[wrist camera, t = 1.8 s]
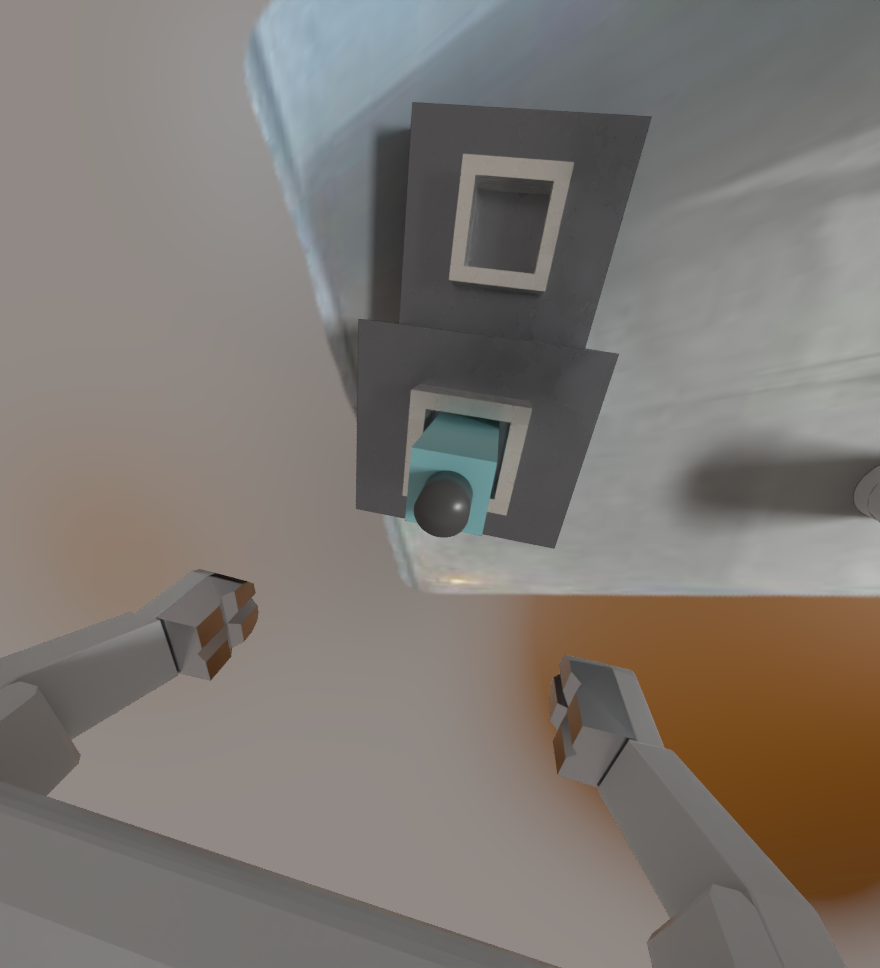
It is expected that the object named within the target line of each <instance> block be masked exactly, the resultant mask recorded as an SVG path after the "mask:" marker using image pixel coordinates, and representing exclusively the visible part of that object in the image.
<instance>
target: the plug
mask: <svg viewBox="0 0 880 968" xmlns="http://www.w3.org/2000/svg"><path fill="white" fill-rule="evenodd" d="M499 422H500V421H496V420H490V419H484V418H478V417H472V416H466V415H459V414H453V413H447V412H440V413H439V415H438V416H437V417H436V418H435V419H434V421H433V422H432V423H431V424H430V426H429V427H428V428H427V429H426V430H425V432H424V433H423V434H422V435H421V436H420V438H419V439H418V440H417V441H416V442H415V444H414V445H413V446H412V447H411V458H410V469H409V481H408V492H407V503H406V515H405V521H410V522H415V523H418V525H419V526H420V527H421V528H422V529H423V530H424V531H426V532H427V533H429V534H431V535H433V536H437V537H451V536H454V535H456V534H458V533H460V532H464V533H469V534H474V535H479V536H482V533H483V528H484V523H485V519H486V514H487V509H488V504H489V500H490V495H491V490H492V485H493V481H494V476H495V471H496V466H497V459H498V441H499Z"/></svg>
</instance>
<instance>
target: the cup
mask: <svg viewBox="0 0 880 968" xmlns="http://www.w3.org/2000/svg"><path fill="white" fill-rule="evenodd" d="M854 503H855V506H856V507H857V509H858V510H859V511H860V512H862V513H863V514H865V515H867V516H869V517H871V518H873V519H875V520H877V521H879V522H880V465H879V466H877V467H876V468H874V469H873V470H871V471H870V472H869V473H868V474H866V475H865V476H864V477H863V479H862V480H861V481H860V482H859V484H858V485H857V487H856V489H855V492H854Z"/></svg>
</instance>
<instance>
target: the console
mask: <svg viewBox="0 0 880 968" xmlns="http://www.w3.org/2000/svg"><path fill="white" fill-rule="evenodd" d="M651 118H652V117H651V116H635V115H618V114H601V113H584V112H568V111H551V110H534V109H518V108H501V107H484V106H467V105H451V104H434V103H417V102H412V118H411V134H410V151H409V167H408V184H407V200H406V217H405V233H404V250H403V266H402V283H401V299H400V315H399V323H392V322H383V321H374V320H365V319H358V395H357V473H356V477H357V479H356V509H360V510H365V511H370V512H375V513H380V514H385V515H390V516H395V517H400V518H405V515H406V503H407V492H408V481H409V469H410V458H411V447H412V446H413V445H414V444H415V442H416V441H417V440H418V439H419V438H420V436H421V435H422V434H423V433H424V432H425V430H426V429H427V428H428V427H429V426H430V424H431V423H432V422H433V421H434V419H435V418H436V417H437V416H438V415H439V413H440V412H447V413H453V414H459V415H466V416H472V417H478V418H484V419H490V420H496V421H500V422H499V441H498V459H497V466H496V471H495V476H494V481H493V485H492V490H491V495H490V500H489V504H488V509H487V514H486V519H485V523H484V528H483V533H482V534H484V535H489V536H494V537H499V538H504V539H509V540H514V541H519V542H524V543H529V544H534V545H539V546H544V547H549V548H555V545H556V542H557V539H558V536H559V533H560V530H561V527H562V524H563V521H564V518H565V515H566V512H567V509H568V506H569V503H570V500H571V497H572V494H573V491H574V488H575V485H576V482H577V479H578V476H579V473H580V470H581V467H582V464H583V461H584V458H585V455H586V452H587V449H588V446H589V443H590V440H591V437H592V434H593V431H594V428H595V425H596V422H597V419H598V416H599V413H600V410H601V407H602V404H603V401H604V398H605V394H606V391H607V388H608V385H609V382H610V379H611V376H612V373H613V370H614V367H615V364H616V361H617V358H618V355H619V354H616V353H610V352H604V351H598V350H592V349H586V348H585V347H586V343H587V340H588V336H589V333H590V329H591V326H592V322H593V319H594V316H595V312H596V309H597V305H598V302H599V298H600V295H601V291H602V288H603V284H604V281H605V277H606V274H607V270H608V267H609V263H610V260H611V257H612V253H613V250H614V246H615V243H616V239H617V236H618V232H619V229H620V225H621V222H622V218H623V215H624V211H625V208H626V204H627V201H628V198H629V194H630V191H631V187H632V184H633V180H634V177H635V173H636V170H637V166H638V163H639V159H640V156H641V152H642V149H643V145H644V142H645V139H646V135H647V132H648V128H649V125H650V121H651Z"/></svg>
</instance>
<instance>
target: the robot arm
mask: <svg viewBox="0 0 880 968" xmlns="http://www.w3.org/2000/svg"><path fill="white" fill-rule="evenodd" d="M255 593H256V592H255V588H254V584H253V583H251V582H247V581H244V580H240V579H236V578H233V577H229V576H225V575H221V574H217V573H213V572H209V571H205V570H201V569H198V570H195V571H191V572H190V573H189V574H187V575H186V576H185V577H183V578H182V579H181V580H179V581H178V582H176V583H175V584H174V585H173V586H171V587H170V588H168V589H167V590H166V591H164V592H163V593H162V594H160V595H159V596H158V597H156V598H155V599H154V600H152V601H151V602H150V603H148V604H147V605H146V606H144V607H143V608H142V609H140V610H139V611H137V612H136V613H132V612H128V613H125V614H123V615H120V616H117V617H114V618H111V619H109V620H106V621H103V622H100V623H97V624H95V625H92V626H89V627H86V628H84V629H81V630H78V631H75V632H72V633H70V634H67V635H64V636H62V637H58V638H56V639H53V640H50V641H47V642H44V643H42V644H39V645H36V646H33V647H31V648H28V649H25V650H23V651H20V652H17V653H14V654H11V655H8V656H5V657H3V658H0V968H561V967H558V966H554V965H552V964H549V963H546V962H542V961H539V960H537V959H534V958H531V957H528V956H525V955H521V954H519V953H516V952H513V951H509V950H506V949H504V948H500V947H497V946H495V945H492V944H488V943H486V942H483V941H479V940H476V939H474V938H471V937H468V936H464V935H462V934H459V933H456V932H453V931H449V930H446V929H443V928H441V927H438V926H435V925H432V924H429V923H425V922H422V921H420V920H416V919H413V918H411V917H407V916H404V915H401V914H398V913H395V912H393V911H390V910H387V909H384V908H380V907H377V906H375V905H372V904H369V903H366V902H363V901H360V900H357V899H353V898H350V897H347V896H344V895H341V894H338V893H335V892H332V891H329V890H326V889H323V888H320V887H317V886H314V885H311V884H308V883H305V882H302V881H299V880H296V879H293V878H290V877H287V876H284V875H281V874H278V873H275V872H272V871H269V870H266V869H263V868H260V867H257V866H254V865H251V864H248V863H245V862H242V861H239V860H236V859H233V858H230V857H227V856H224V855H221V854H218V853H215V852H212V851H209V850H206V849H203V848H200V847H197V846H194V845H191V844H188V843H185V842H182V841H179V840H176V839H173V838H170V837H167V836H164V835H161V834H158V833H155V832H152V831H149V830H146V829H143V828H140V827H137V826H134V825H131V824H128V823H125V822H122V821H119V820H116V819H113V818H110V817H107V816H104V815H101V814H98V813H95V812H92V811H89V810H86V809H83V808H80V807H77V806H74V805H71V804H68V803H65V802H62V801H59V800H56V799H53V798H50V797H47V795H48V794H49V793H50V792H51V791H52V790H53V789H54V788H55V787H56V786H57V785H58V784H59V783H60V781H62V779H64V778H65V777H66V775H67V774H68V773H69V772H70V771H71V770H72V769H73V768H74V767H75V766H76V765H77V764H78V763H79V760H80V756H81V755H80V753H79V752H78V750H77V749H76V747H75V745H74V744H73V742H72V739H73V738H75V737H76V736H78V735H80V734H82V733H83V732H85V731H86V730H88V729H90V728H91V727H93V726H95V725H97V724H98V723H100V722H102V721H103V720H105V719H106V718H108V717H110V716H112V715H113V714H115V713H117V712H118V711H120V710H121V709H123V708H125V707H126V706H128V705H130V704H131V703H133V702H135V701H136V700H138V699H140V698H141V697H143V696H145V695H146V694H148V693H150V692H151V691H153V690H155V689H156V688H158V687H159V686H161V685H163V684H165V683H166V682H168V681H170V680H171V679H173V678H175V677H176V676H178V673H180V674H184V675H188V676H193V677H197V678H201V679H205V680H209V681H210V680H212V679H213V677H214V676H215V675H216V674H217V673H218V672H219V670H220V669H221V668H222V667H223V666H224V665H225V663H226V662H227V661H228V660H229V658H231V654H232V648H233V647H235V646H237V645H239V644H241V643H242V642H244V641H245V640H246V639H247V637H248V636H249V635H250V634H251V633H252V630H253V629H254V627H255V624H256V622H257V619H258V606H257V604H256V603H255V602H254V601H253V599H252V597H253V596H254V594H255ZM559 669H560V674H559V675H557V676H555V677H554V678H553V680H552V683H551V686H550V693H549V713H550V720H551V721H552V723H553V725H554V726H555V727H556V729H557V733H556V735H555V737H554V740H553V746H554V754H555V761H556V769H557V775H559V776H562V777H565V778H568V779H572V780H575V781H578V782H581V783H585V784H588V785H592V786H595V787H598V789H597V791H598V792H599V794H600V795H601V798H602V799H603V801H604V803H605V805H606V806H607V808H608V810H609V812H610V813H611V815H612V817H613V818H614V820H615V822H616V824H617V826H618V827H619V829H620V831H621V833H622V834H623V836H624V838H625V839H626V841H627V843H628V845H629V847H630V848H631V850H632V852H633V854H634V855H635V857H636V859H637V861H638V862H639V864H640V866H641V868H642V869H643V871H644V873H645V875H646V876H647V878H648V880H649V882H650V884H651V885H652V887H653V889H654V891H655V892H656V894H657V896H658V898H659V899H660V901H661V903H662V905H663V906H664V908H665V910H666V912H667V913H668V915H669V917H670V920H668V921H667V922H666V923H665V924H663V925H662V926H661V927H660V928H659V929H657V930H656V931H655V932H654V933H652V935H651V937H650V938H649V940H648V941H647V945H648V950H649V954H650V958H651V963H652V967H653V968H847V967H846V965H845V963H844V961H843V959H842V958H841V956H840V954H839V952H838V950H837V948H836V947H835V945H834V943H833V941H832V939H831V937H830V936H829V934H828V932H827V930H826V928H825V926H824V925H823V923H822V921H821V920H820V917H819V915H818V914H817V912H816V911H815V909H814V908H813V907H812V906H811V905H810V904H809V903H808V902H807V900H806V899H805V898H804V897H803V896H802V895H801V894H800V893H799V892H798V891H797V889H796V888H795V887H794V886H793V885H792V884H791V883H790V881H789V880H788V879H787V878H786V877H785V876H784V875H783V874H782V873H781V871H780V870H779V869H778V868H777V867H776V866H775V865H774V864H773V862H772V861H771V860H770V859H769V858H768V857H767V856H766V855H765V854H764V852H762V850H761V849H760V848H759V847H758V846H757V845H756V844H755V842H754V841H753V840H752V839H751V838H750V837H749V836H748V835H747V833H746V832H745V831H744V830H743V829H742V828H741V827H740V826H739V824H738V823H737V822H736V821H735V820H734V819H733V818H732V817H731V816H730V814H729V813H728V812H727V811H726V810H725V809H724V808H723V807H722V805H721V804H720V803H719V802H718V801H717V800H716V799H715V798H714V797H713V795H712V794H711V793H710V792H709V791H708V790H707V789H706V788H705V786H704V785H703V784H702V783H701V782H700V781H699V780H698V779H697V778H696V777H695V775H694V774H693V773H692V772H691V771H690V770H689V769H688V767H686V765H685V764H684V763H683V762H682V761H681V760H680V758H679V757H678V756H677V755H676V754H675V753H674V752H673V751H672V750H669V749H665V748H664V745H663V743H662V740H661V738H660V735H659V733H658V730H657V728H656V725H655V723H654V720H653V718H652V716H651V713H650V710H649V708H648V705H647V703H646V700H645V698H644V695H643V693H642V690H641V688H640V685H639V683H638V681H637V678H636V675H635V674H634V673H633V672H632V670H629V669H624V668H620V667H615V666H611V665H606V664H604V663H599V662H595V661H590V660H586V659H581V658H576V657H572V656H567V655H564V656H563V657H562V659H561V661H560V663H559Z"/></svg>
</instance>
